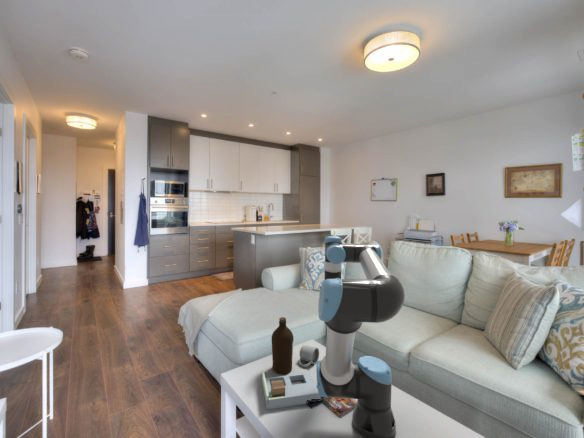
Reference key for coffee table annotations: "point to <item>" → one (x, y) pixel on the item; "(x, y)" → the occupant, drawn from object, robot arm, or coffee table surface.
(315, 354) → the ceramic mug
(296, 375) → the board
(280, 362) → the olive oil
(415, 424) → the coffee table surface
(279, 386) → the brown block
